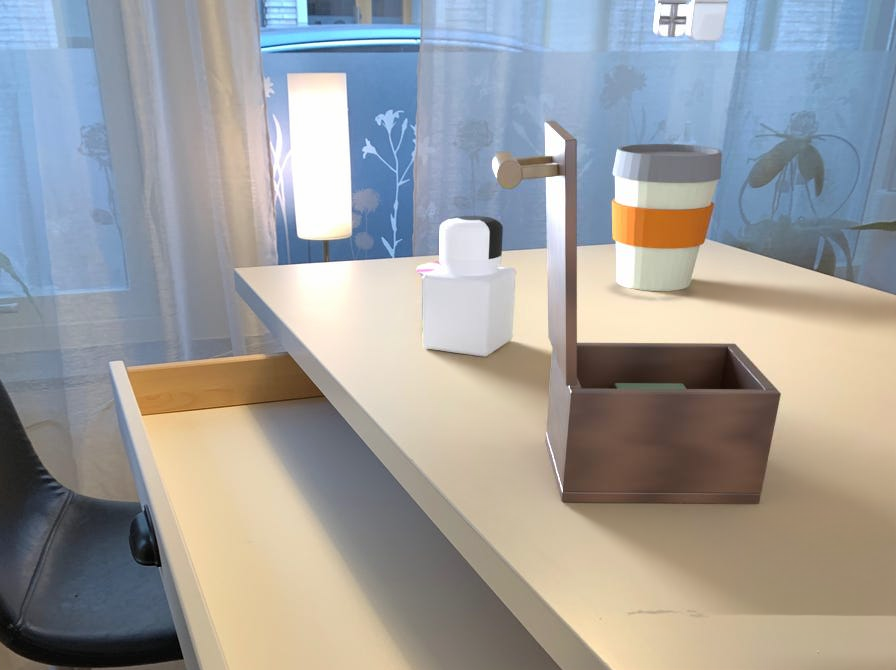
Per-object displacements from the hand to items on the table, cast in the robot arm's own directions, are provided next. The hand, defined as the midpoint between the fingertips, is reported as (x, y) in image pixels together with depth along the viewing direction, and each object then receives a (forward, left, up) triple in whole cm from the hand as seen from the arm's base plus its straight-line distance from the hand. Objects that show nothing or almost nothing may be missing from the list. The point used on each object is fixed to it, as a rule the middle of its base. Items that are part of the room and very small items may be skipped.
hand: (684, 38), depth 60 cm
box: (-1, 0, -27) cm, 27 cm away
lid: (+6, 0, -12) cm, 13 cm away
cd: (+11, -67, -28) cm, 73 cm away
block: (-1, 0, -27) cm, 27 cm away
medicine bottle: (+11, -33, -28) cm, 44 cm away
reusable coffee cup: (-13, -61, -28) cm, 68 cm away
